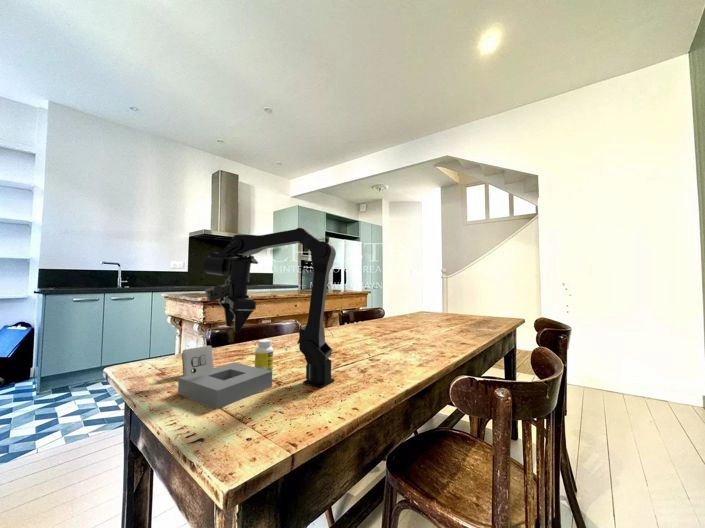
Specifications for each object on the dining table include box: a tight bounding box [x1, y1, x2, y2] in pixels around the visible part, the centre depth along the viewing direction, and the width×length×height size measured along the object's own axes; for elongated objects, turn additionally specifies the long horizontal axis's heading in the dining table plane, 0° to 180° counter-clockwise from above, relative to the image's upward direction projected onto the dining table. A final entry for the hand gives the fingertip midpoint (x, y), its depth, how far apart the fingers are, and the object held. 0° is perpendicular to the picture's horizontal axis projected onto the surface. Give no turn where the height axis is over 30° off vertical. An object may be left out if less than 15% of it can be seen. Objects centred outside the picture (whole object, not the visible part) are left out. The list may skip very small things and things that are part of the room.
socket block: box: [177, 362, 273, 410], centre depth 73 cm, size 16×16×4 cm
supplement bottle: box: [254, 338, 274, 372], centre depth 87 cm, size 5×5×10 cm
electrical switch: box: [181, 345, 215, 377], centre depth 86 cm, size 8×5×8 cm, turn 141°
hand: (232, 329), depth 83 cm, fingers open, 9 cm apart
